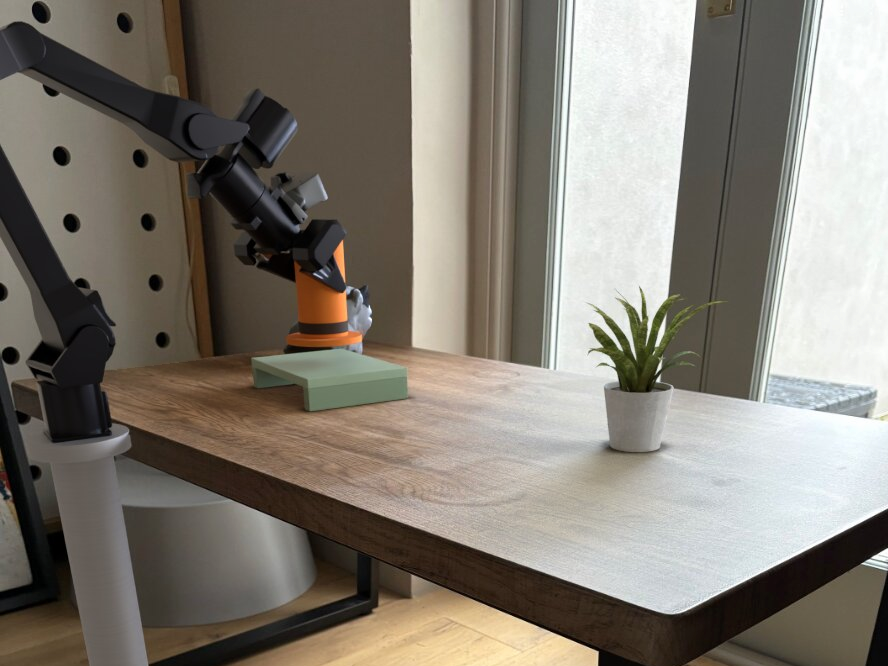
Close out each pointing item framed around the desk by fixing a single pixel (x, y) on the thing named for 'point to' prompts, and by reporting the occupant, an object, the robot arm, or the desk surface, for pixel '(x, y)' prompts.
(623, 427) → the house plant
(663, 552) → the desk surface
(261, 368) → the shelf
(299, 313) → the hat
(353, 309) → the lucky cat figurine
